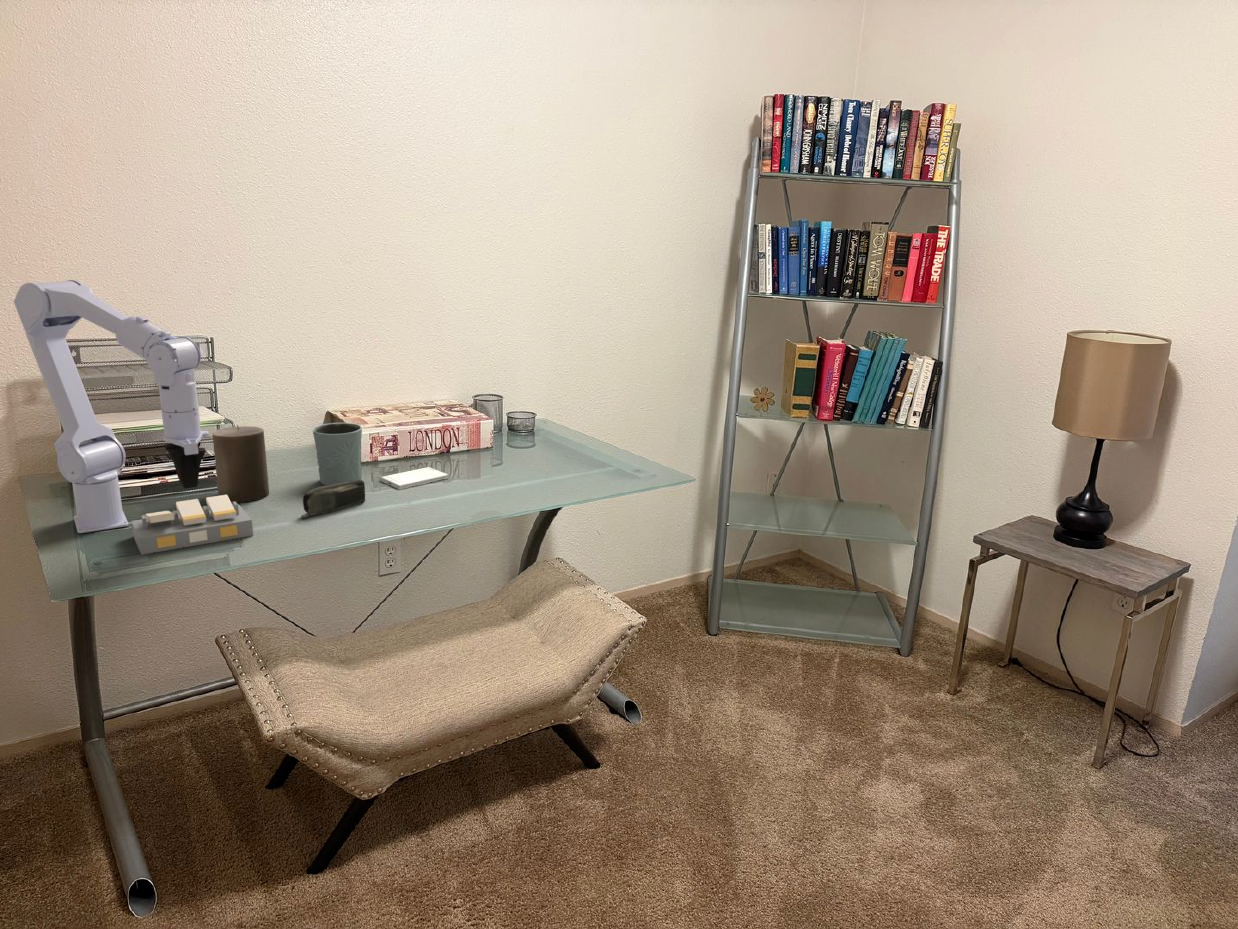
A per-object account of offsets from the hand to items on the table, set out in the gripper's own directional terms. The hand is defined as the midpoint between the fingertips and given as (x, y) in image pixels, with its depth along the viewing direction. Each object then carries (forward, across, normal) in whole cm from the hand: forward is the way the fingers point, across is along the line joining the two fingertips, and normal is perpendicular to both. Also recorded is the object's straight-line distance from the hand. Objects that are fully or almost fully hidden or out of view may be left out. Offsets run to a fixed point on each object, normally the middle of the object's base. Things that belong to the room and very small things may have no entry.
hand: (188, 485), depth 152 cm
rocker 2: (+5, +1, 0) cm, 5 cm away
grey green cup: (+10, +21, -33) cm, 40 cm away
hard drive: (+11, +14, -47) cm, 50 cm away
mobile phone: (+10, +4, -26) cm, 28 cm away
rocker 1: (+5, +1, +5) cm, 7 cm away
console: (+10, +1, 0) cm, 10 cm away
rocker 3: (+5, +1, -5) cm, 7 cm away
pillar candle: (+10, +21, -13) cm, 27 cm away
